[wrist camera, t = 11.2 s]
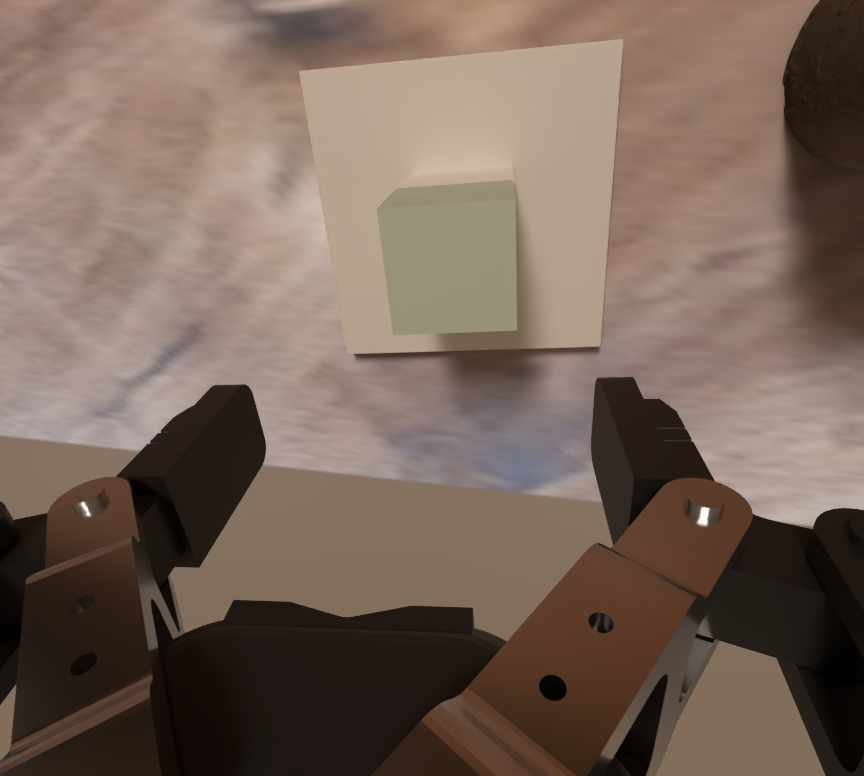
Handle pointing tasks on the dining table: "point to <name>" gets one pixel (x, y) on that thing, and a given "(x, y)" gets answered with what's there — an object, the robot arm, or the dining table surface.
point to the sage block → (450, 258)
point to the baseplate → (466, 150)
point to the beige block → (458, 177)
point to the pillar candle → (829, 83)
